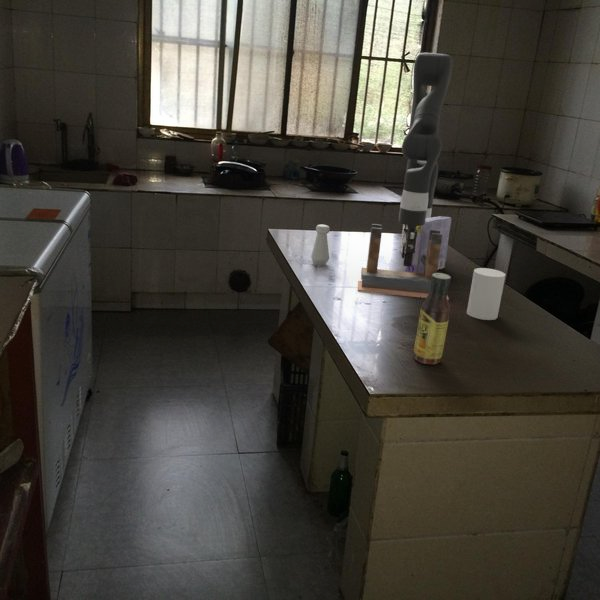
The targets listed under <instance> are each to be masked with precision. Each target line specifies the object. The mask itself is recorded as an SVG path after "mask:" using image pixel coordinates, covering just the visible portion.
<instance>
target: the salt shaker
mask: <svg viewBox="0 0 600 600" xmlns="http://www.w3.org/2000/svg"><path fill="white" fill-rule="evenodd" d="M330 230H331V229H330V226H329V225H327V224H317V225H316V227H315V232H316V237H315V240H314V245H313V248H312V252H311V256H310V257H311V261H312V264H313V265H314V266H318V267H324V266H325V267H326V265H327V263H328V262H329V260H330V253H329V243H328V242H329V241H328V234H329V233H330Z"/></svg>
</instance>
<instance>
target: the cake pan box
mask: <svg viewBox="0 0 600 600" xmlns="http://www.w3.org/2000/svg"><path fill="white" fill-rule="evenodd" d="M451 224H452V217H450V216H442V215H439V216H433V217H432V216H431V218H426V220H425V224H424V225H422V226H416V229H417V231H418V236H417V240H416V246H415V253H414V254H413V257H412V265H411V266H410V267H408V266H406V271H405V272H411V273H421V274H424V268H425V262H426V255H427V248H428V241H429V234H430V230H440V234H442V241H441V248H440V254H439V261H438V267H437V271H439V269H440V270H444V269H445V267H446V261H447V253H448V247H449V246H448V245H449V240H450V239H449V238H450V231H451ZM410 249H412V247H411V248H410ZM443 268H444V269H443Z"/></svg>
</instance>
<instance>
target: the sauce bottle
mask: <svg viewBox="0 0 600 600" xmlns="http://www.w3.org/2000/svg"><path fill="white" fill-rule="evenodd" d="M451 280H452V277H451V275H449V274H446V273H443V272H437V273H434V274H432V277H431V287H430V291H429V294H428V296H427V298H424V301H423V304H422V305H421V307H420V311H419V312H420V313H419V317H418V322H417V323H418V324H417V330H416V337H415V340H414V341H415V343H414V346H413V352H414V353H413V358H414V360H416V361H417V362H419V363H420V364H422V365H430V366H431V365H432V366H433V365H438V364H439V363H440V362H441V358H442V356H443V352H444V347H445V343H446V336H447V331H448V325H449V320H450V319H449V318H450V317H449V316H450V312H451V305H450V302H449V300H447V296H448V294H449V293H448V291H449V286H450V284H451V282H452V281H451Z"/></svg>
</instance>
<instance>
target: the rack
mask: <svg viewBox="0 0 600 600" xmlns="http://www.w3.org/2000/svg"><path fill="white" fill-rule="evenodd" d="M382 233H383V228H382V224H377V223H371V227H370V237H369V244H368V246H369V247H368V253H367V254H368V255H367V260H366V262H367V263H366V267H361V271H360V273H361V274H360V278H361V280H362V276H363V272H366V273H376V274H386V275H396V276H406V277H416V278H426V279H431V277H432V274H434V273H438V270H437V267H438V261H439V254H440V248H441V241H442V234H440V230H430V234H429V241H428V248H427V255H426V262H425V268H424V274H421V273H411V272H406V271H400V270H390V269H381V268H378V267H379V266H378V265H379V258H380V252H381V251H380V250H381V241H382Z"/></svg>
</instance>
